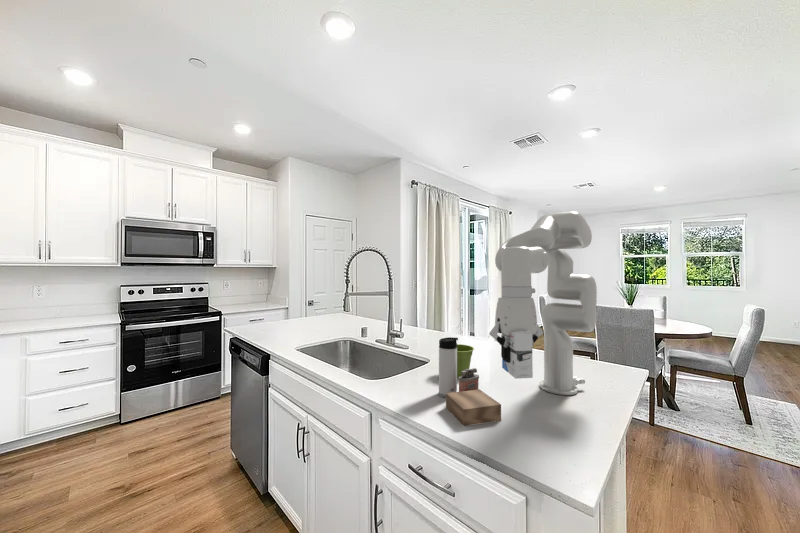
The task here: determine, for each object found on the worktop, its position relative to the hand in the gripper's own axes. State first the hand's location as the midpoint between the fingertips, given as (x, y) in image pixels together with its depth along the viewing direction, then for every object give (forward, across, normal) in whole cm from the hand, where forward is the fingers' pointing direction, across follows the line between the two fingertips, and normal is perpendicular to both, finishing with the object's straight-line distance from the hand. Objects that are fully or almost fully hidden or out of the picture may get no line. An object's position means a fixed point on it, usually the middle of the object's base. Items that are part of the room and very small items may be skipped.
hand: (516, 359), depth 84 cm
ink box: (+4, 0, 0) cm, 4 cm away
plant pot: (+21, 0, -47) cm, 52 cm away
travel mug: (+20, +11, -27) cm, 36 cm away
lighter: (+20, +5, -23) cm, 31 cm away
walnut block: (+20, +8, -12) cm, 25 cm away
